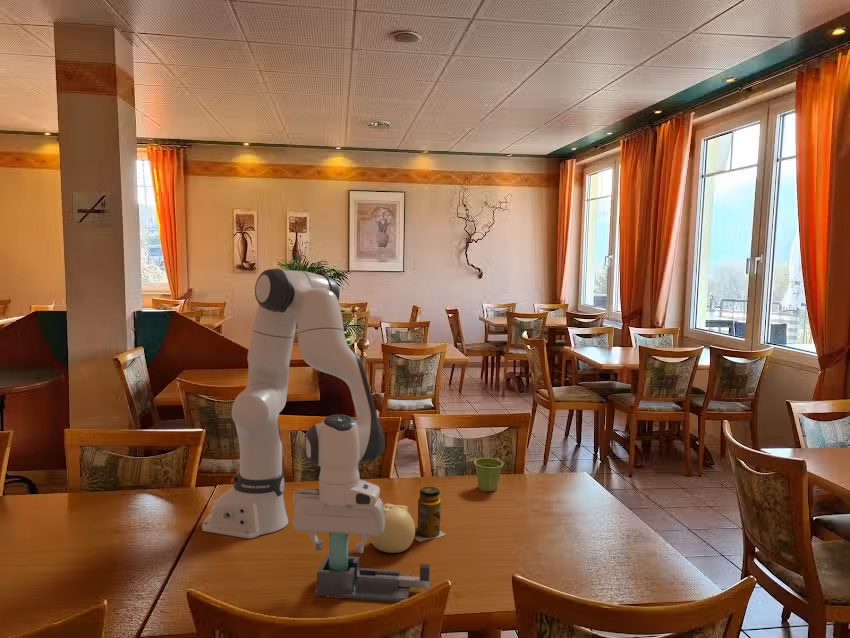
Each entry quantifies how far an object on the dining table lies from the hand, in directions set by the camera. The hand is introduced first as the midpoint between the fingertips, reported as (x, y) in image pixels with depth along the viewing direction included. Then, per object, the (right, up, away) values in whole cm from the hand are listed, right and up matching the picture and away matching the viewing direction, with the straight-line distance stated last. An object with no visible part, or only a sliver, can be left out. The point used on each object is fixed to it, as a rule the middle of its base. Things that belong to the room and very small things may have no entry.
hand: (338, 550), depth 137 cm
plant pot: (+39, -3, +61) cm, 73 cm away
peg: (0, -7, +1) cm, 7 cm away
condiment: (+19, -6, +28) cm, 35 cm away
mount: (+6, -8, 0) cm, 10 cm away
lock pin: (+14, -7, -1) cm, 16 cm away
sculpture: (+11, -7, +20) cm, 23 cm away
